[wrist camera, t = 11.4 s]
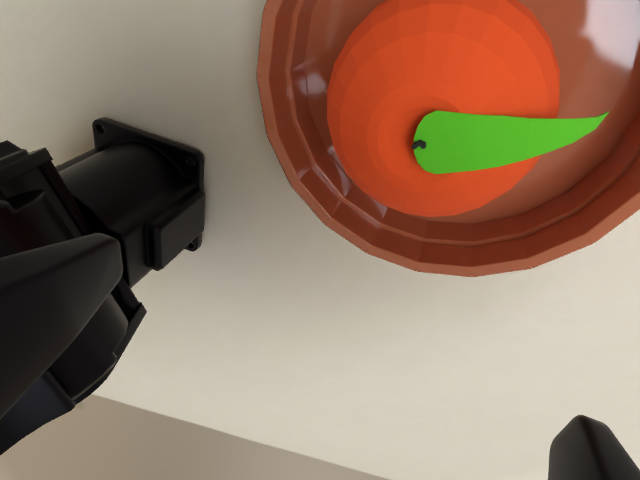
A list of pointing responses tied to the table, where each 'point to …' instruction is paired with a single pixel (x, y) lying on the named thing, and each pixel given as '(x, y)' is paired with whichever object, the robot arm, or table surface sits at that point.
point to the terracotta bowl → (504, 211)
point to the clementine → (446, 103)
